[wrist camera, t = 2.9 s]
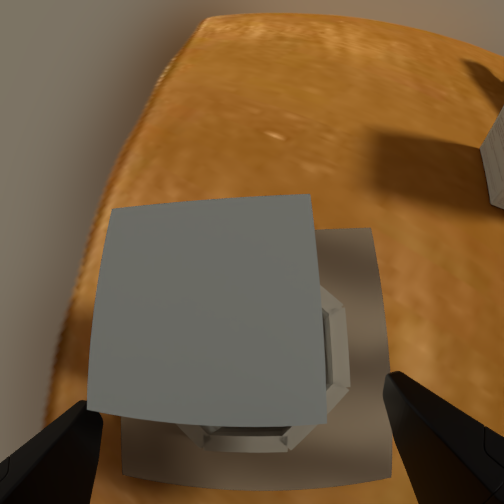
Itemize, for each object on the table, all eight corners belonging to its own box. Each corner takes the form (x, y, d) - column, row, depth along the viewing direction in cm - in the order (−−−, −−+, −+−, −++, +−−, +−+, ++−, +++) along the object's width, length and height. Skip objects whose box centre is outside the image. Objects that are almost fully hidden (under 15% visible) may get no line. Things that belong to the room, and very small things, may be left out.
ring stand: (385, 472, 14) (413, 492, 10) (130, 471, 16) (93, 486, 11) (366, 236, 21) (384, 198, 17) (142, 246, 22) (114, 213, 18)
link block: (296, 400, 16) (327, 423, 5) (207, 401, 16) (87, 409, 6) (294, 315, 18) (310, 194, 7) (208, 317, 19) (112, 208, 8)
